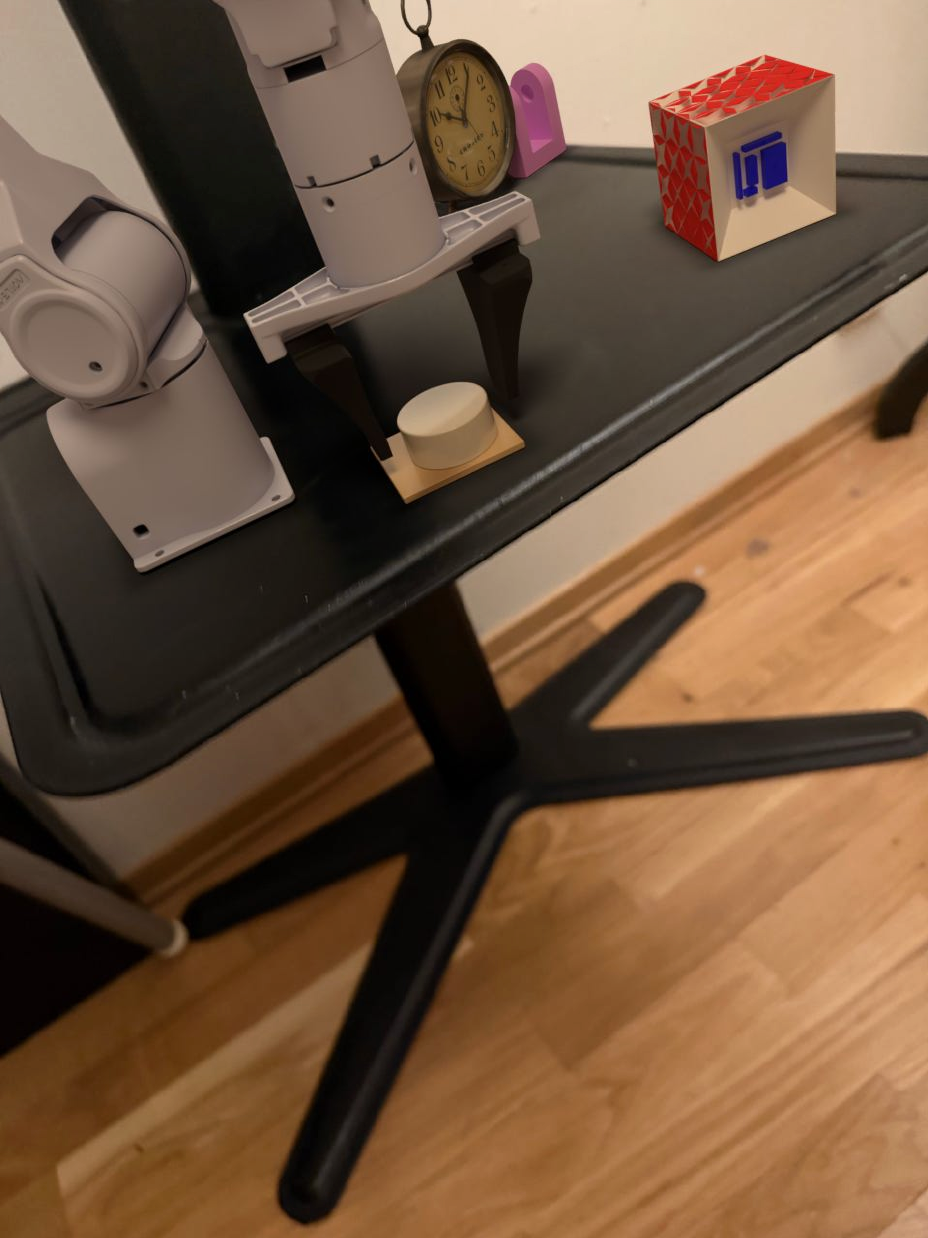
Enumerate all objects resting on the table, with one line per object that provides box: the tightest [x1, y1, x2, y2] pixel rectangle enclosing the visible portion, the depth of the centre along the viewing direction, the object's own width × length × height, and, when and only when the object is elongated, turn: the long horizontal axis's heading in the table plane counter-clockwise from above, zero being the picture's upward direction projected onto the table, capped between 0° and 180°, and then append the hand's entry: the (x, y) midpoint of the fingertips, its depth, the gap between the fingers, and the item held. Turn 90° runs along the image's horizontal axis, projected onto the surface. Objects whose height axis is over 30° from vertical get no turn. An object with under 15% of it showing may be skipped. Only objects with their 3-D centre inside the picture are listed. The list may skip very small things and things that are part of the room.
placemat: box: [369, 407, 526, 505], centre depth 49 cm, size 7×6×1 cm
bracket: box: [508, 62, 567, 179], centre depth 79 cm, size 13×6×7 cm, turn 46°
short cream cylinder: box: [396, 381, 497, 470], centre depth 48 cm, size 5×5×2 cm
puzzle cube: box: [647, 54, 837, 263], centre depth 56 cm, size 8×8×8 cm
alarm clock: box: [396, 0, 516, 215], centre depth 70 cm, size 11×5×16 cm, turn 142°
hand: (445, 421), depth 48 cm, fingers open, 7 cm apart
